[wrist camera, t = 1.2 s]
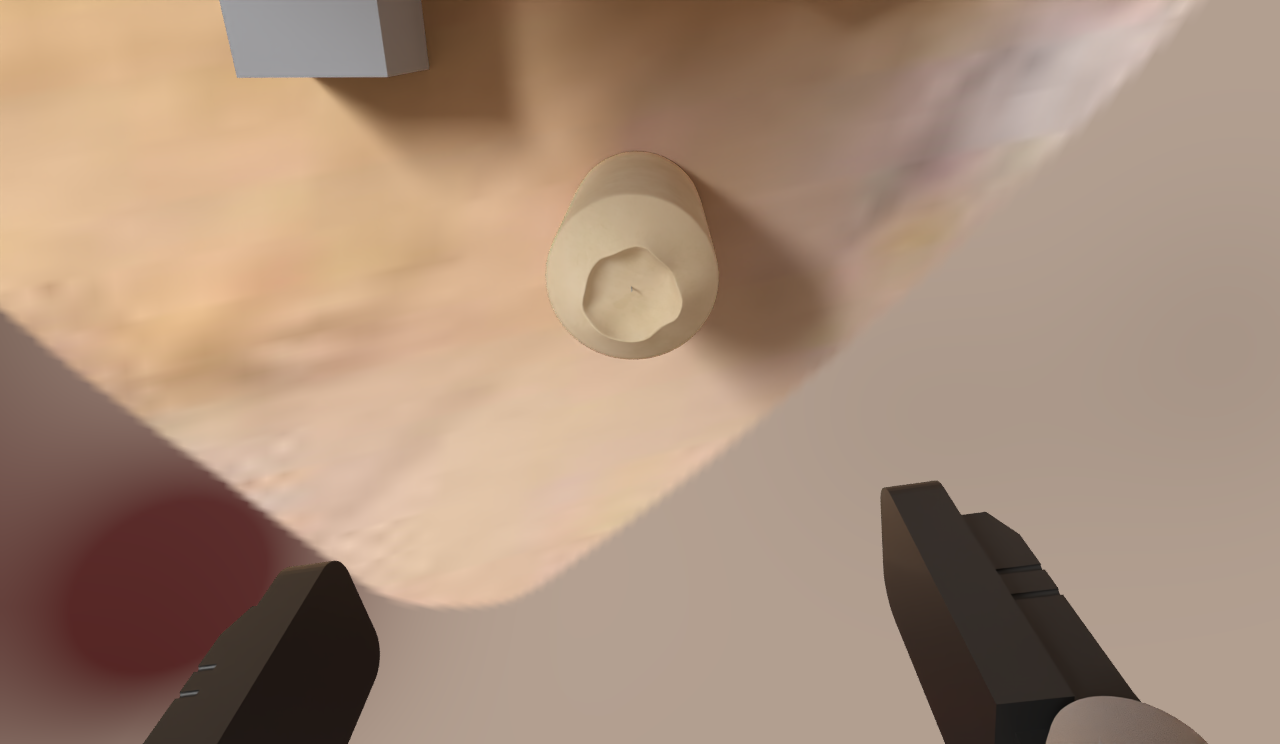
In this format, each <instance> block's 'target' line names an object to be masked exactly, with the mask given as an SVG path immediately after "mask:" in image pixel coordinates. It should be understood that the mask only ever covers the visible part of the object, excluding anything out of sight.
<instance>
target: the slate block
mask: <svg viewBox="0 0 1280 744" xmlns="http://www.w3.org/2000/svg"><path fill="white" fill-rule="evenodd" d="M219 1H220V5H221V10H222V14H223V18H224V23H225V27H226V31H227V36H228V40H229V44H230V49H231V53H232V57H233V62H234V66H235V71H236V75H237V78H267V77H391V76H396V75H401V74H407V73H412V72H417V71H422V70H428V69H429V61H428V53H427V45H426V36H425V28H424V20H423V12H422V3H421V0H219Z"/></svg>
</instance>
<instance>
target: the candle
mask: <svg viewBox="0 0 1280 744" xmlns="http://www.w3.org/2000/svg"><path fill="white" fill-rule="evenodd" d="M545 277H546V288H547V293H548V297H549V300H550V303H551V306H552V308H553V310H554V312H555V314H556V316H557V318H558V319H559V321H560V322H561V324H562V325H563V326H564V328H565V329H566V330H567V331H568V332H569V333H570V334H571V335H572V336H573V337H574V338H575V339H576V340H578V341H579V342H581V343H582V344H583V345H585V346H586V347H588V348H590V349H592V350H594V351H596V352H598V353H601V354H604V355H606V356H610V357H614V358H620V359H646V358H652V357H656V356H660V355H662V354H665V353H668V352H670V351H672V350H674V349H676V348H678V347H680V346H681V345H682V344H684V343H685V342H687V341H688V340H689V339H690V338H691V337H693V336H694V335H695V334H696V333H697V332H698V330H699V329H700V328H701V327H702V326H703V324H704V323H705V321H706V320H707V318H708V317H709V315H710V313H711V311H712V309H713V306H714V303H715V300H716V297H717V292H718V286H719V270H718V262H717V258H716V254H715V250H714V246H713V243H712V239H711V235H710V232H709V228H708V224H707V221H706V217H705V214H704V210H703V206H702V203H701V200H700V197H699V195H698V192H697V189H696V188H695V186H694V184H693V182H692V181H691V179H690V178H689V177H688V175H687V174H686V173H685V172H684V171H683V170H682V169H681V168H680V167H679V166H677V165H676V164H675V163H673V162H672V161H670V160H668V159H667V158H664V157H662V156H660V155H657V154H653V153H649V152H642V151H632V152H624V153H620V154H617V155H614V156H612V157H609V158H607V159H605V160H604V161H602V162H600V163H599V164H598V165H596V166H595V167H594V168H593V169H592V170H591V171H590V172H589V173H588V174H587V175H586V176H585V178H584V179H583V181H582V182H581V184H580V185H579V187H578V189H577V191H576V193H575V195H574V197H573V199H572V201H571V204H570V206H569V208H568V210H567V212H566V214H565V217H564V219H563V221H562V223H561V225H560V227H559V230H558V232H557V234H556V236H555V238H554V240H553V243H552V245H551V248H550V251H549V254H548V258H547V263H546V274H545Z"/></svg>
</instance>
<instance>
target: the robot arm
mask: <svg viewBox="0 0 1280 744" xmlns="http://www.w3.org/2000/svg"><path fill="white" fill-rule="evenodd" d="M881 521H882V545H883V568H884V579H885V586H886V591H887V596H888V600H889V604H890V607H891V611H892V613H893V616H894V619H895V622H896V624H897V627H898V629H899V631H900V634H901V636H902V639H903V641H904V644H905V646H906V648H907V651H908V653H909V656H910V658H911V661H912V663H913V666H914V668H915V671H916V673H917V676H918V678H919V681H920V683H921V685H922V688H923V690H924V693H925V695H926V698H927V700H928V703H929V705H930V708H931V710H932V713H933V715H934V717H935V720H936V722H937V725H938V727H939V730H940V732H941V735H942V737H943V740H944V742H945V744H1208V743H1207V742H1206V741H1205V740H1204V739H1203V738H1202V737H1201V736H1200V735H1199V734H1197V733H1196V732H1195V731H1194V730H1193V729H1191V728H1190V727H1189V726H1187V725H1186V724H1184V723H1183V722H1181V721H1180V720H1178V719H1177V718H1175V717H1173V716H1171V715H1170V714H1168V713H1166V712H1164V711H1162V710H1160V709H1158V708H1155V707H1153V706H1150V705H1148V704H1145V703H1142V702H1141V701H1140V700H1139V699H1138V698H1137V696H1136V695H1135V694H1134V693H1133V692H1132V690H1131V689H1130V687H1129V686H1128V684H1127V683H1126V682H1125V680H1124V679H1123V678H1122V676H1121V675H1120V673H1119V672H1118V671H1117V669H1116V668H1115V666H1114V665H1113V664H1112V662H1111V661H1110V660H1109V658H1108V657H1107V655H1106V654H1105V652H1104V651H1103V650H1102V648H1101V647H1100V646H1099V644H1098V643H1097V641H1096V640H1095V639H1094V637H1093V636H1092V634H1091V633H1090V632H1089V631H1088V629H1087V628H1086V626H1085V625H1084V623H1083V622H1082V621H1081V619H1080V618H1079V616H1078V615H1077V614H1076V612H1075V611H1074V609H1073V608H1072V607H1071V605H1070V604H1069V603H1068V601H1067V600H1066V598H1065V597H1064V596H1063V595H1060V594H1059V591H1058V587H1057V586H1056V584H1055V583H1054V582H1053V580H1052V579H1051V577H1050V576H1049V575H1048V573H1047V572H1046V571H1045V570H1042V568H1041V564H1040V562H1039V561H1038V559H1037V558H1036V557H1035V555H1034V554H1033V552H1032V551H1031V550H1030V548H1029V547H1028V546H1027V544H1026V543H1025V541H1024V540H1023V539H1022V537H1021V536H1020V534H1018V533H1017V532H1015V531H1014V530H1012V529H1010V528H1009V527H1007V526H1006V525H1005V524H1003V523H1002V522H1000V521H999V520H997V519H996V518H994V517H993V516H991V515H990V514H988V513H987V512H982V513H974V514H966V515H961V514H960V512H959V511H958V509H957V508H956V506H955V505H954V503H953V501H952V500H951V498H950V497H949V495H948V493H947V492H946V490H945V489H944V487H943V486H942V484H941V483H940V482H938V481H930V482H922V483H915V484H907V485H900V486H892V487H886V488H883V489H882V491H881ZM379 660H380V648H379V641H378V637H377V634H376V631H375V629H374V627H373V625H372V622H371V620H370V618H369V616H368V614H367V611H366V609H365V607H364V605H363V603H362V600H361V598H360V596H359V594H358V592H357V590H356V587H355V585H354V583H353V581H352V579H351V576H350V574H349V572H348V570H347V568H346V567H345V566H344V565H343V564H342V563H341V562H339V561H329V562H322V563H315V564H308V565H301V566H293V567H287V568H285V569H283V570H282V571H281V572H280V573H279V574H278V576H277V577H276V579H275V580H274V581H273V583H272V585H271V586H270V587H269V589H268V590H267V592H266V593H265V595H264V596H263V598H262V599H261V601H260V602H259V604H258V605H257V606H252V607H251V608H250V609H249V610H248V611H247V612H246V613H244V614H243V615H242V616H241V617H240V618H239V619H238V620H237V621H236V622H234V623H233V624H232V625H231V626H230V627H229V628H228V629H226V630H225V631H224V632H223V633H222V634H221V635H220V636H219V637H218V639H217V640H216V642H215V643H214V645H213V646H212V647H211V649H210V650H209V652H208V653H207V654H206V656H205V657H204V659H203V660H202V662H201V663H200V664H199V670H198V672H194V673H193V674H192V676H191V677H190V679H189V680H188V681H187V683H186V684H185V685H184V687H183V688H182V690H181V691H180V698H178V699H175V700H174V701H173V703H172V704H171V705H170V707H169V708H168V709H167V711H166V712H165V714H164V715H163V716H162V718H161V719H160V721H159V722H158V724H157V725H156V726H155V728H154V729H153V731H152V732H151V733H150V735H149V736H148V738H147V739H146V740H145V742H144V743H143V744H348V742H349V740H350V738H351V735H352V733H353V731H354V728H355V726H356V724H357V721H358V719H359V716H360V714H361V712H362V709H363V707H364V705H365V702H366V700H367V698H368V695H369V693H370V690H371V688H372V686H373V684H374V681H375V679H376V676H377V672H378V668H379Z"/></svg>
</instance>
